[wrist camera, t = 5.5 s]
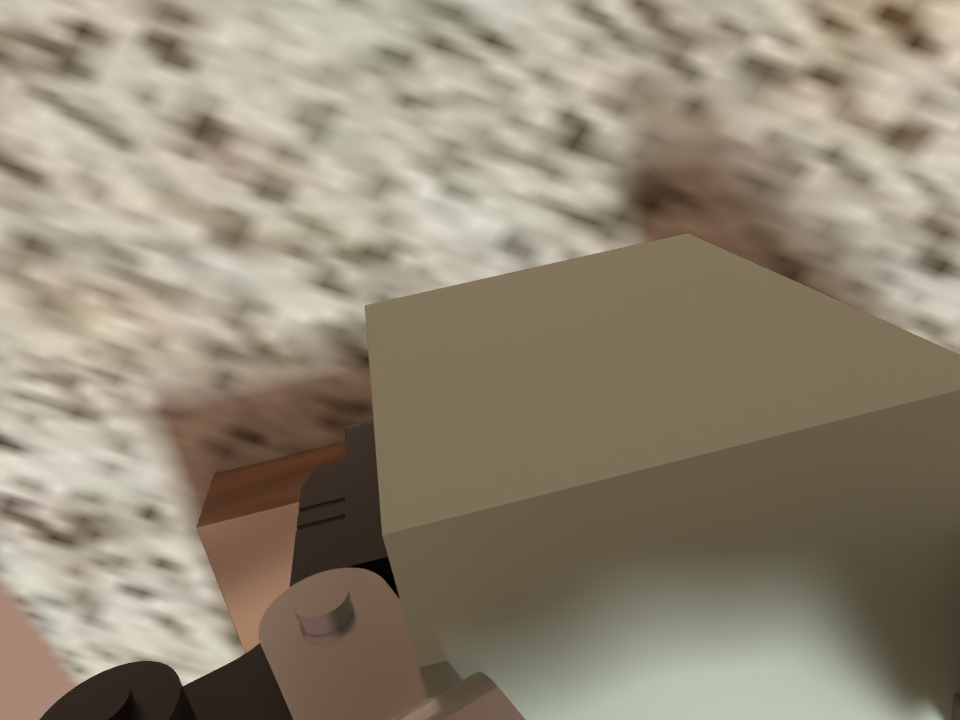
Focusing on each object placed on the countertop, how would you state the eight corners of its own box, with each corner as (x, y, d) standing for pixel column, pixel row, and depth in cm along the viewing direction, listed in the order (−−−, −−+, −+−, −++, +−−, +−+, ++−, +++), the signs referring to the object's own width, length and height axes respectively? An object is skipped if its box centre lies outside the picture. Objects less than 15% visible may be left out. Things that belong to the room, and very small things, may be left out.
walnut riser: (216, 468, 28) (196, 527, 24) (578, 379, 29) (612, 423, 25) (316, 741, 33) (312, 825, 29) (620, 656, 34) (653, 726, 30)
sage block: (364, 305, 11) (383, 535, 5) (688, 233, 11) (1009, 377, 6) (433, 578, 13) (499, 959, 7) (709, 508, 13) (969, 815, 8)
